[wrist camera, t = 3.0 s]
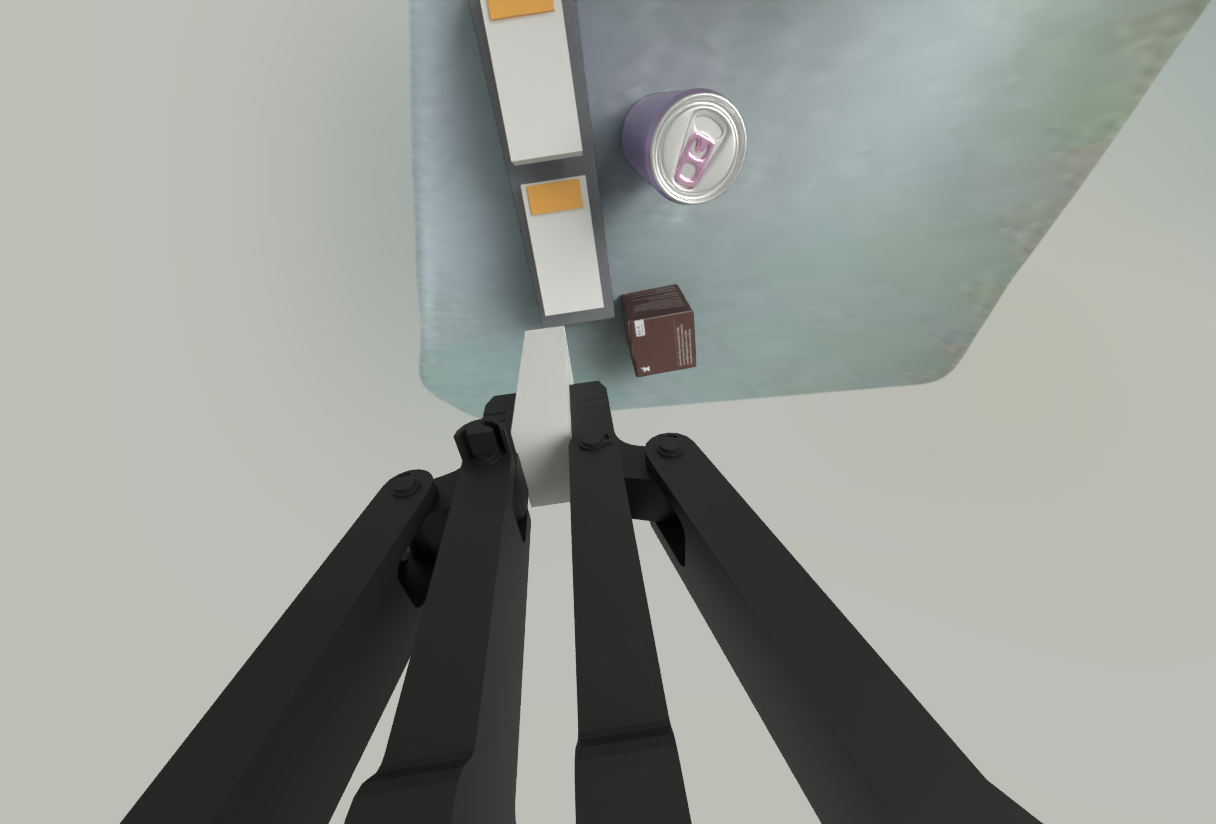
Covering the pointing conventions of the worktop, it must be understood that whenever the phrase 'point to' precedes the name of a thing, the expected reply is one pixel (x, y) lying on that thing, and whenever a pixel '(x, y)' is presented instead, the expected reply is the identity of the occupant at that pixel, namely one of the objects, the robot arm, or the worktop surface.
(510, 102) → the block
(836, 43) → the worktop surface
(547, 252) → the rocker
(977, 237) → the worktop surface
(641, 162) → the beverage can
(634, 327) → the box
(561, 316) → the switch panel
